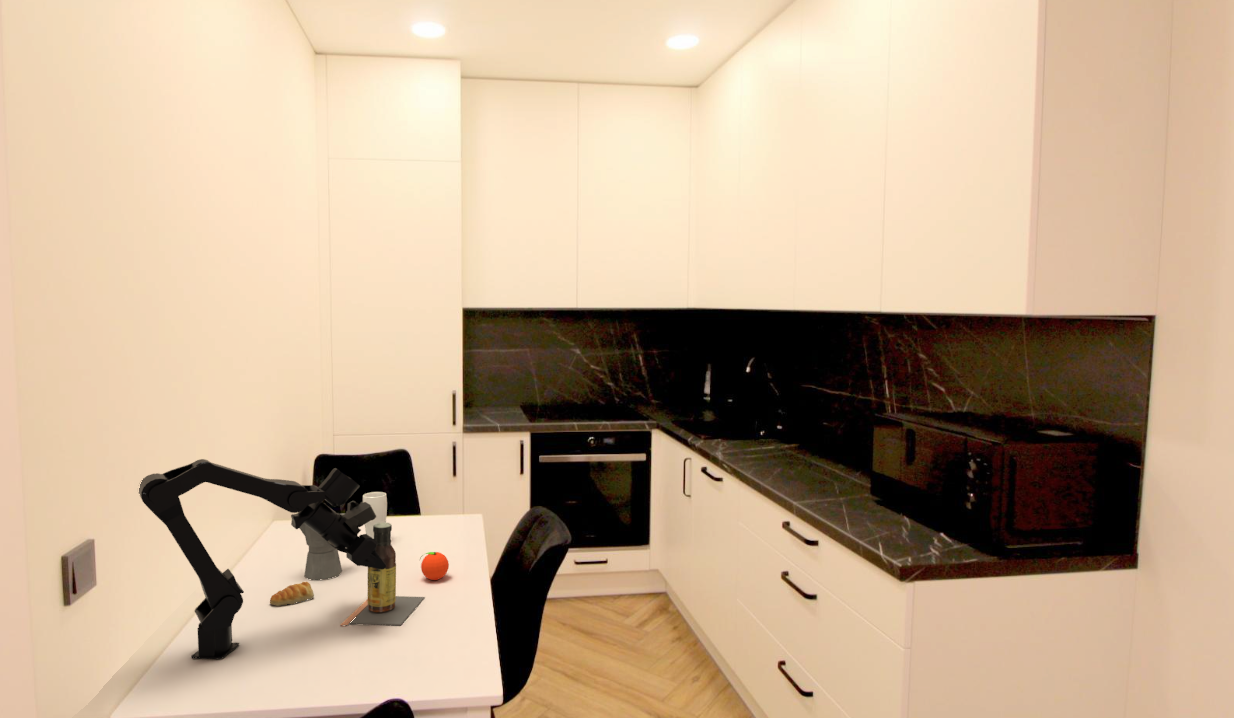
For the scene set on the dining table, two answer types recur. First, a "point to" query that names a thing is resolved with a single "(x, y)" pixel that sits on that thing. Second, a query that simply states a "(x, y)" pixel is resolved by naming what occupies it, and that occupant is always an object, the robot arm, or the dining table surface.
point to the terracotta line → (355, 613)
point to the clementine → (434, 565)
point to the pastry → (292, 594)
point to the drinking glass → (376, 509)
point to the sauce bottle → (382, 572)
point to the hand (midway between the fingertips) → (377, 562)
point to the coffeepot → (320, 556)
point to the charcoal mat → (390, 613)
